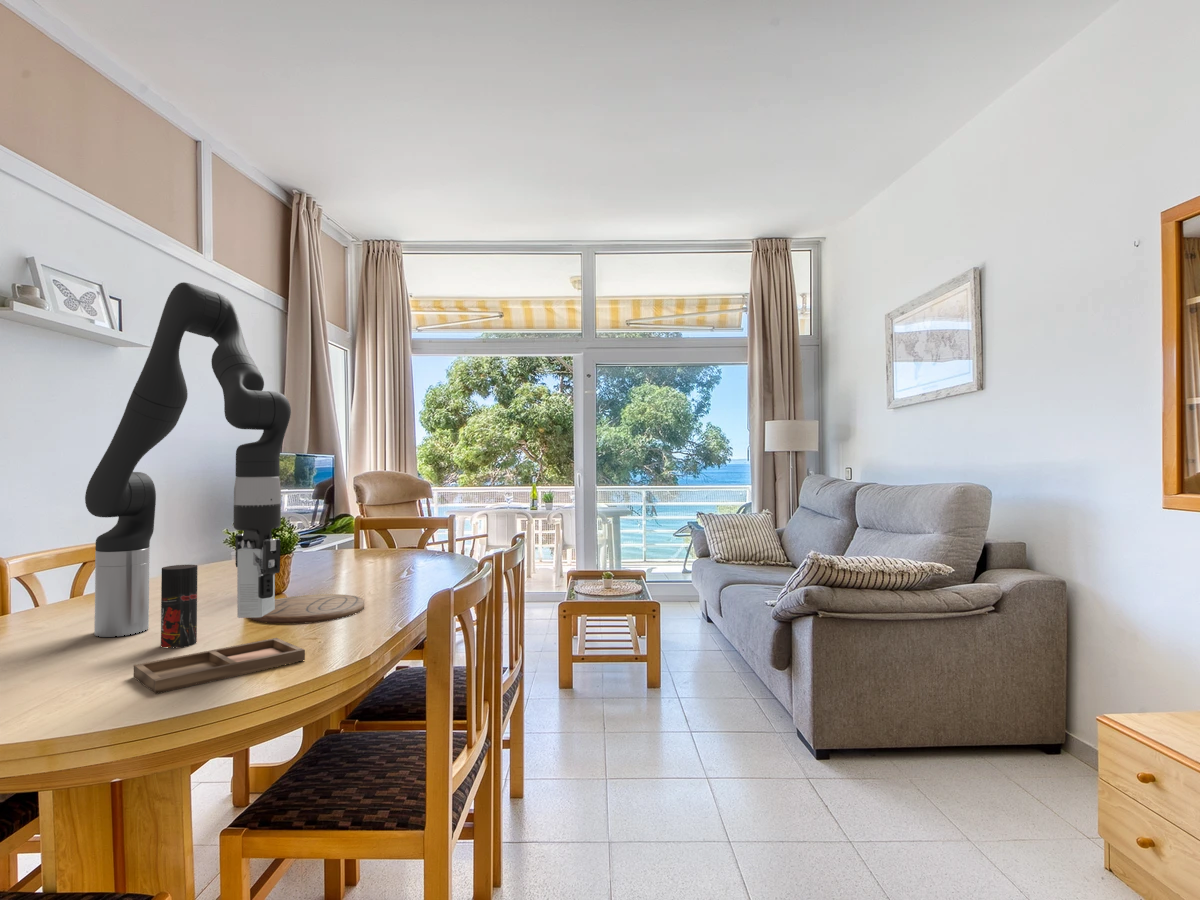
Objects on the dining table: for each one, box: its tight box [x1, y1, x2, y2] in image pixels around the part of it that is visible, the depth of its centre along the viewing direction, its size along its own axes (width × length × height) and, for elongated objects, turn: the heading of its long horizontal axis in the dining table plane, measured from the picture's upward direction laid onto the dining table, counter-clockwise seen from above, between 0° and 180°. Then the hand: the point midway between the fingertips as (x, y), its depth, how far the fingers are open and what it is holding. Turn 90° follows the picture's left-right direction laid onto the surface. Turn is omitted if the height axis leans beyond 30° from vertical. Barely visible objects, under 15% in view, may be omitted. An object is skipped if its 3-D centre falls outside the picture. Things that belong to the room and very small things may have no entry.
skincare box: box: [236, 547, 276, 619], centre depth 120 cm, size 6×4×12 cm
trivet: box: [250, 593, 365, 624], centre depth 160 cm, size 25×25×2 cm
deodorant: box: [160, 564, 198, 649], centre depth 131 cm, size 6×6×15 cm
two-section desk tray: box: [133, 637, 306, 695], centre depth 116 cm, size 12×23×2 cm, turn 138°
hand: (256, 594), depth 120 cm, fingers closed on skincare box, 7 cm apart
